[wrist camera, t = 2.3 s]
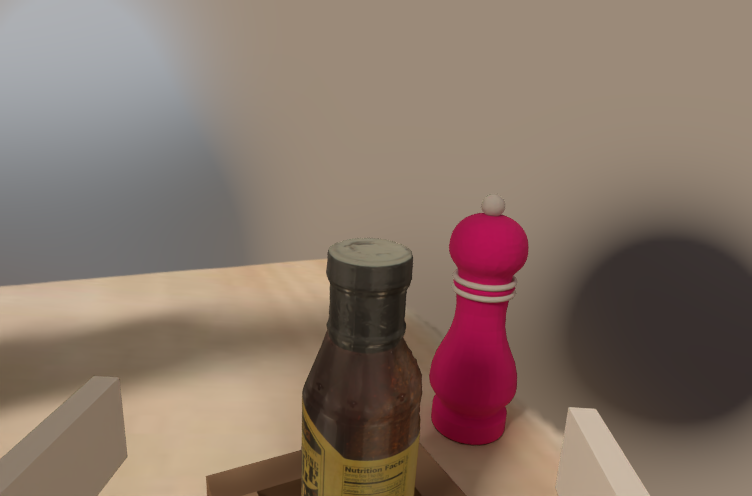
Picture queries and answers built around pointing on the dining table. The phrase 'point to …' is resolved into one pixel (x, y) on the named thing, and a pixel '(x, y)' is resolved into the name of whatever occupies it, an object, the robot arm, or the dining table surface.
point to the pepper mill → (479, 328)
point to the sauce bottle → (363, 379)
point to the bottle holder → (283, 481)
